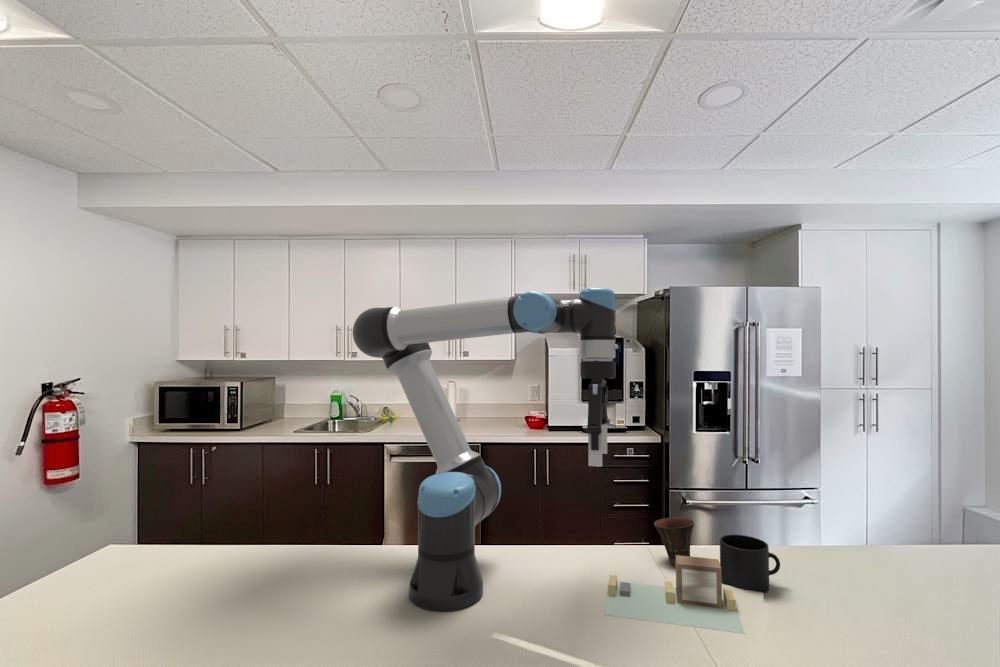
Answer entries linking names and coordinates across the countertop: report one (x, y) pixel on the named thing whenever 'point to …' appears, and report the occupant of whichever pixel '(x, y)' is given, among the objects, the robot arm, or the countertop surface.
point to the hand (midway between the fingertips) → (598, 459)
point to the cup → (675, 536)
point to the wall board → (669, 606)
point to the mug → (746, 562)
